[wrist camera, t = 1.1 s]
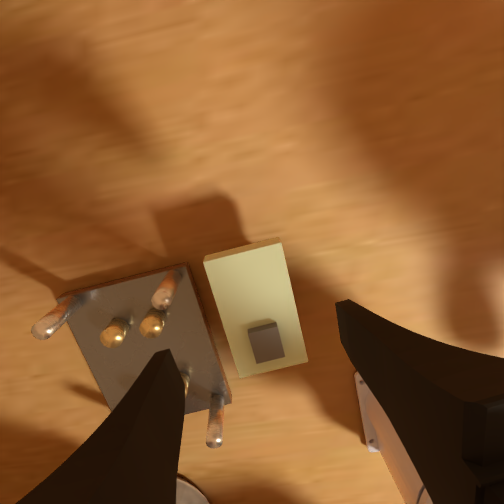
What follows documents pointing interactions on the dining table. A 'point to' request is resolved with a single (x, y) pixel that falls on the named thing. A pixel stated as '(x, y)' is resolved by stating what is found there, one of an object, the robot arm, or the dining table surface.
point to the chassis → (146, 337)
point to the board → (257, 306)
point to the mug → (188, 493)
